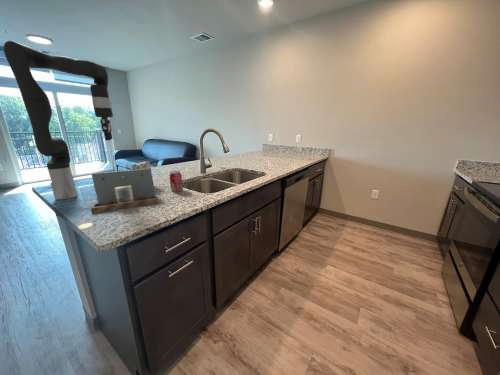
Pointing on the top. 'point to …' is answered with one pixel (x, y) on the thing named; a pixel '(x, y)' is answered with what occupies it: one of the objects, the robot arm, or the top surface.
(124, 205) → the notched ledge
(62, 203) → the top surface
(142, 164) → the candy bar box
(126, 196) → the picture frame
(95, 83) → the robot arm
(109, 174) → the wall panel
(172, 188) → the soda can
